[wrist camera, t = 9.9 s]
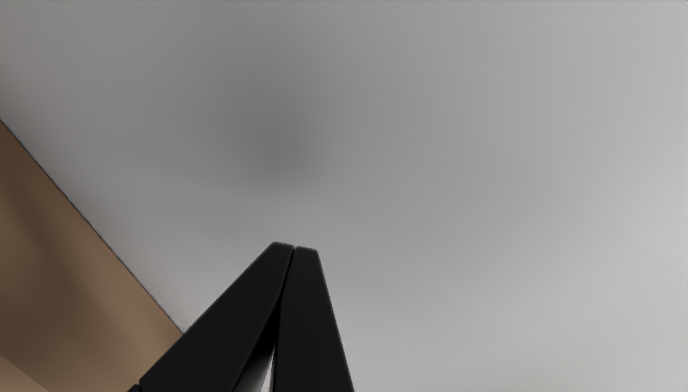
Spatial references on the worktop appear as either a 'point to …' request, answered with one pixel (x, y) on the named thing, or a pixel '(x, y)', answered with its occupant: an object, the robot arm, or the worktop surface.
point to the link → (66, 293)
